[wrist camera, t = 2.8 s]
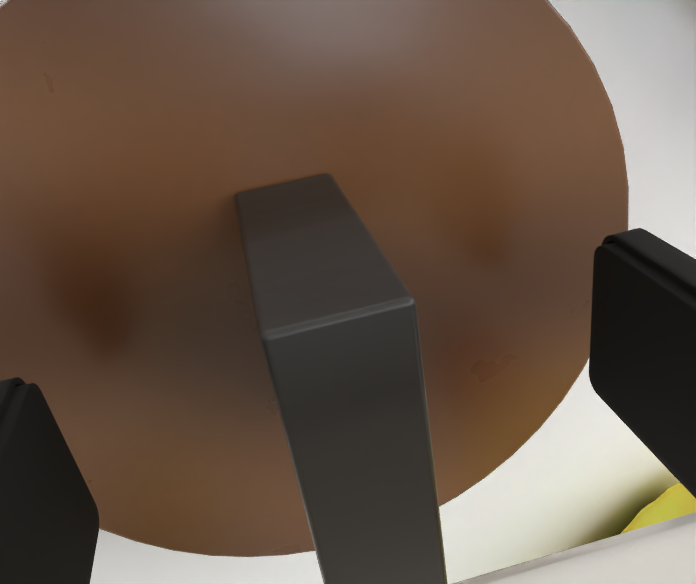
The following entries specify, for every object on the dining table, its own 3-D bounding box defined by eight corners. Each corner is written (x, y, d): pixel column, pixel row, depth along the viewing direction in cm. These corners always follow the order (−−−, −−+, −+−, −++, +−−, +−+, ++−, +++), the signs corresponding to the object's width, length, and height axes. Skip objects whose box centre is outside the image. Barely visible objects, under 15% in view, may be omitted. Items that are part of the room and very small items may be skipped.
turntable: (-267, -24, 9) (-843, -8, 4) (629, -167, 11) (1018, -284, 6) (80, 594, 16) (28, 890, 11) (595, 447, 17) (758, 643, 12)
